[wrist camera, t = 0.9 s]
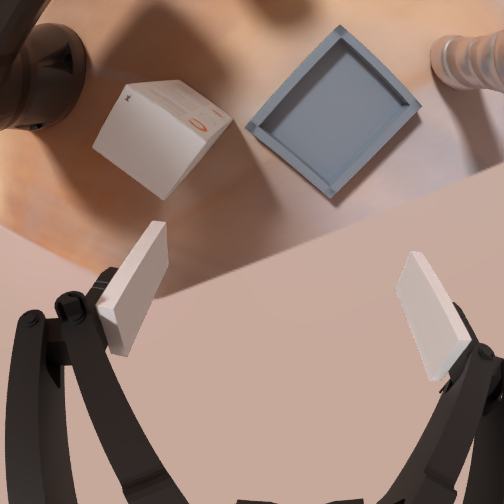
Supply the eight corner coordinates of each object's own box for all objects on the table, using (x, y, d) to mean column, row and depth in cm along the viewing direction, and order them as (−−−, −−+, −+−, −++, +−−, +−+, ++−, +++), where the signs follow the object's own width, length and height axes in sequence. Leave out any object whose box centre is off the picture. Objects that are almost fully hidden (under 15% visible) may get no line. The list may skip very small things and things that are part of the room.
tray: (247, 124, 33) (244, 127, 30) (335, 28, 26) (339, 24, 24) (327, 191, 36) (330, 199, 34) (413, 103, 29) (422, 106, 27)
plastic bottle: (458, 99, 27) (580, 140, 10) (415, 67, 27) (534, 75, 10) (476, 59, 24) (598, 75, 7) (434, 25, 23) (553, 7, 6)
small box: (148, 121, 33) (88, 147, 22) (178, 78, 30) (125, 81, 19) (201, 161, 35) (163, 203, 24) (235, 119, 32) (209, 141, 21)
